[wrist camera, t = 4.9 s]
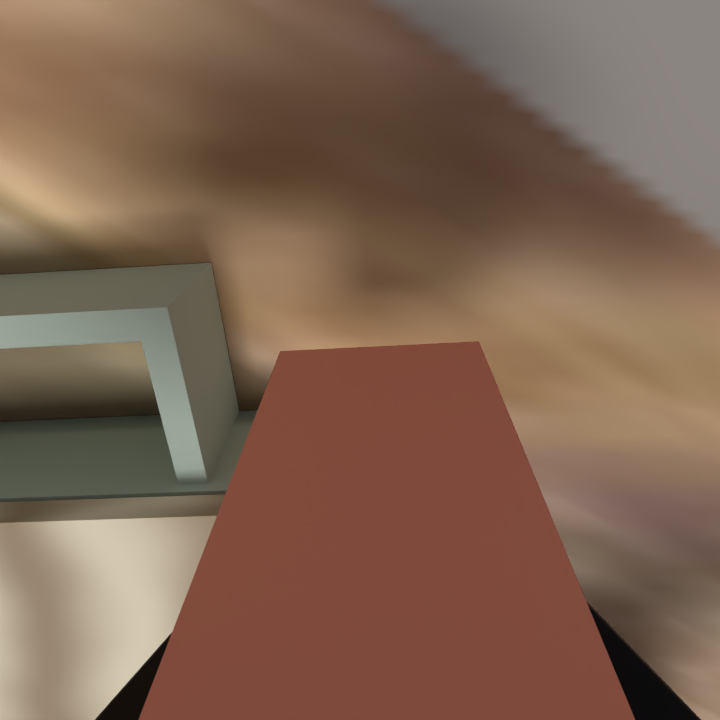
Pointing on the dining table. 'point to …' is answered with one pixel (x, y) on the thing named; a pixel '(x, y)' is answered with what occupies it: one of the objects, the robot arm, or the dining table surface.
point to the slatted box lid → (90, 595)
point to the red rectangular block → (384, 559)
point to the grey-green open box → (168, 375)
